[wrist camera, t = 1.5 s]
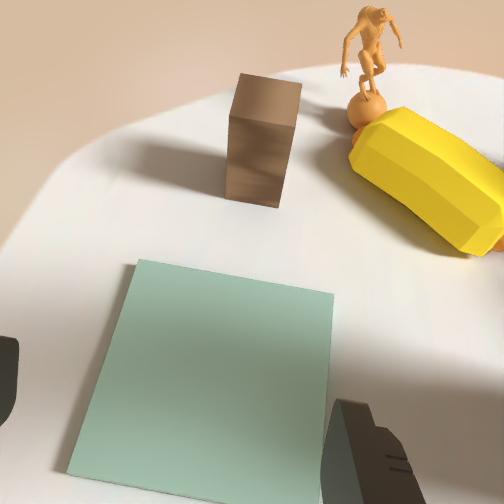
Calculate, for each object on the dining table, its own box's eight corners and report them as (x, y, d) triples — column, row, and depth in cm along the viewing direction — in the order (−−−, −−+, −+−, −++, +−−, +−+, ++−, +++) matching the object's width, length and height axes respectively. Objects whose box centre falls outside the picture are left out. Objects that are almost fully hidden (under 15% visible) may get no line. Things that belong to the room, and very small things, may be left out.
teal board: (330, 300, 39) (334, 293, 38) (313, 520, 31) (317, 520, 29) (140, 266, 39) (138, 258, 38) (70, 475, 31) (66, 472, 30)
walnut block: (284, 168, 46) (302, 83, 38) (278, 208, 44) (295, 127, 35) (234, 159, 46) (240, 73, 38) (225, 198, 44) (229, 115, 35)
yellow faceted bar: (479, 282, 41) (521, 233, 45) (522, 240, 36) (567, 188, 39) (326, 163, 47) (373, 128, 51) (342, 111, 42) (394, 75, 45)
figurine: (347, 153, 48) (385, 48, 38) (307, 119, 50) (332, 10, 40) (400, 120, 51) (448, 15, 41) (360, 89, 53) (396, -18, 43)
